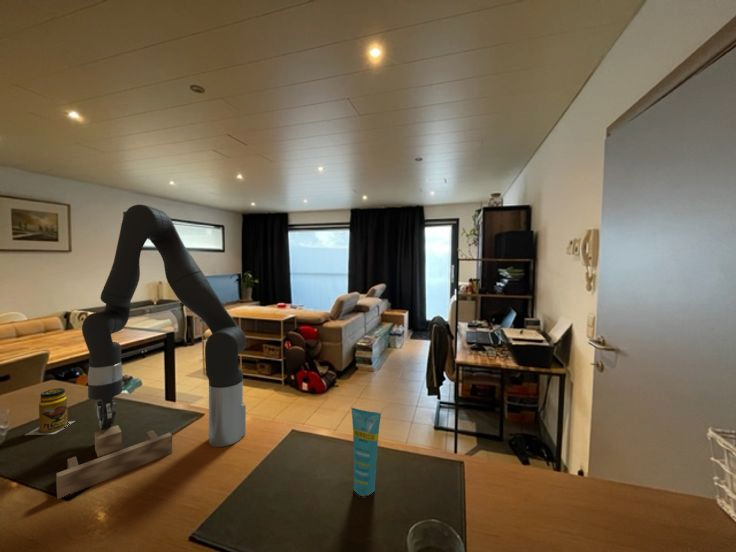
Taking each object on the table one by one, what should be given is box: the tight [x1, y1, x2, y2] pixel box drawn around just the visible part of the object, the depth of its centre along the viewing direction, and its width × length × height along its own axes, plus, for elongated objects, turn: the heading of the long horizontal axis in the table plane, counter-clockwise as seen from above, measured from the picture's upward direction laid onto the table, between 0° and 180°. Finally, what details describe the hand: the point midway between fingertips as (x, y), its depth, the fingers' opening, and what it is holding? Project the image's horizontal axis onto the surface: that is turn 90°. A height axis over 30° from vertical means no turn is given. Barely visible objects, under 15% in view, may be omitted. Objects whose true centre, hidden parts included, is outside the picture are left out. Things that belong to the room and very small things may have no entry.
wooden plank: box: [56, 429, 173, 500], centre depth 77 cm, size 22×9×5 cm, turn 140°
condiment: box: [24, 387, 76, 436], centre depth 93 cm, size 7×8×12 cm
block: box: [94, 424, 123, 458], centre depth 83 cm, size 5×5×5 cm
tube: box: [351, 407, 382, 496], centre depth 69 cm, size 7×5×19 cm, turn 72°
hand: (105, 437), depth 87 cm, fingers closed
